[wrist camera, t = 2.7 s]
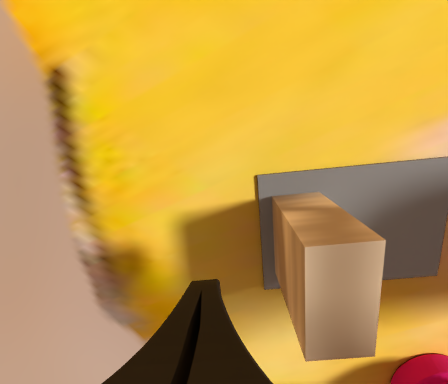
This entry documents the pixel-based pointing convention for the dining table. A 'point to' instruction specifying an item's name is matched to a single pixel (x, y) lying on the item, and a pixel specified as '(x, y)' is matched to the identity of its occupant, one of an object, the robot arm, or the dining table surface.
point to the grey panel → (373, 209)
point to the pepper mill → (423, 370)
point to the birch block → (328, 275)
